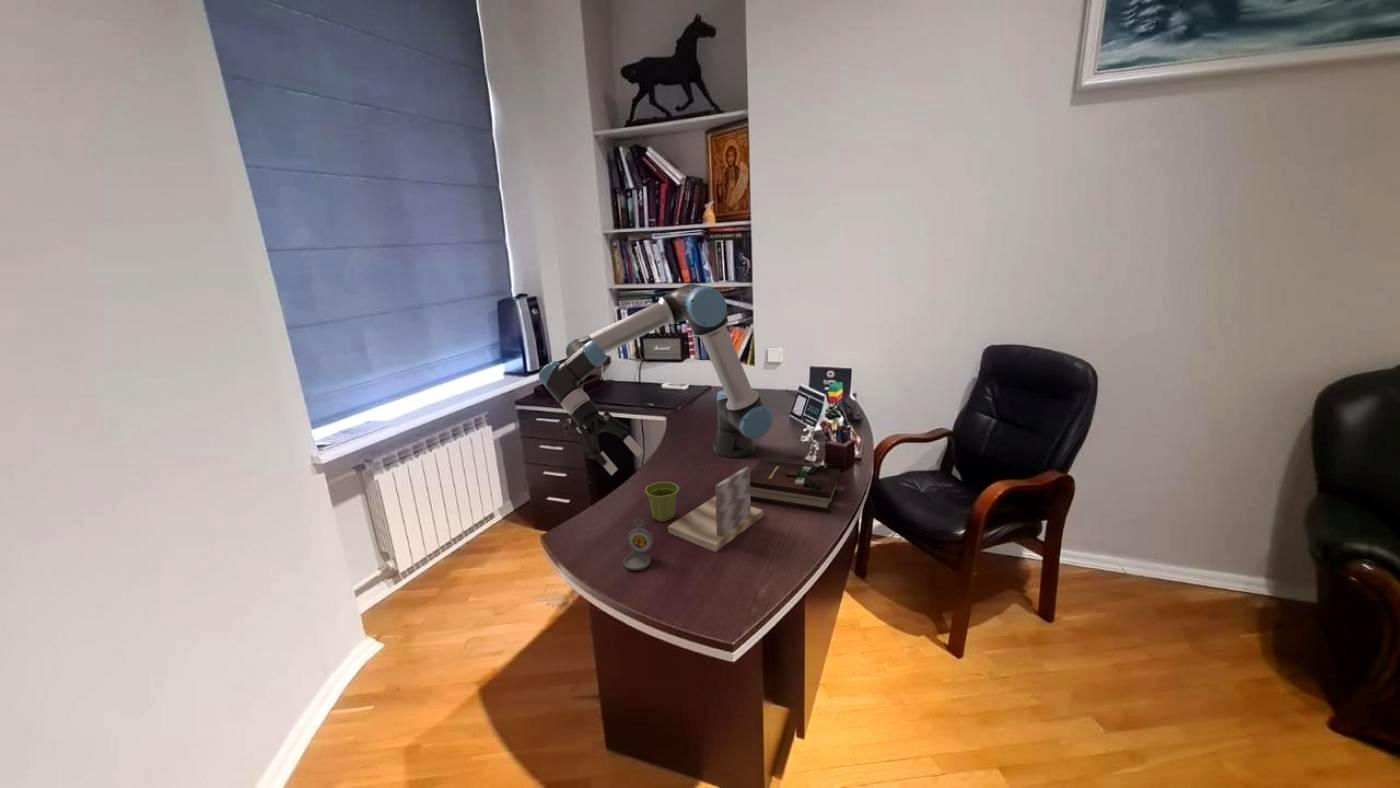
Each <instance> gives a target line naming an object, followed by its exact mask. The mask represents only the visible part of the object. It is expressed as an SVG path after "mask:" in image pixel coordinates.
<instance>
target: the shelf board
mask: <svg viewBox="0 0 1400 788" xmlns="http://www.w3.org/2000/svg"><path fill="white" fill-rule="evenodd" d="M750 472H751V467H750V466H744V467H743V468H742V469H740V470H738V471H737V472H735V473H733V474H731V475H729V476H728V477H727V478H725V479H724V480H722V481H720V482H718V483H717V484H715V485H714V486H715V487H714V488H715V492H714V493H715V496H713V497H712V498H710V499H708V500H707V501H705V502H704V503H702V504H700V505H699V506H698V507H696V508H694V509H692V510H691V511H689V512H687V514H685V515H683V516H681V517H680V518H678V519H677V520H675V521H673V522H672V523H671V524H669V525H668V526H667V533H668V532H669V533H668V534H670V533H671V534H670V535H672V534H673V535H672V536H675V537H677V536H678V537H677V538H680V539H683V540H685V541H688V542H690V543H692V544H695V545H698V546H700V547H702V548H705V549H707V550H709V551H712V552H715V553H716V552H717V551H719V550H720V549H721V548H723V547H724V546H726V545H727V544H729V543H730V542H731V541H732V540H734V539H735V538H736V537H738V536H739V535H740V534H741V533H743V532H744V531H745V530H747V529H748V528H750V525H751V526H752V525H753V524H755V523H756V522H757V521H758V519H759V520H760V519H761V518H763V517H764V515H763V514H764V512H763V510H764V509H761V508H758V507H754V506H752V505H751V502H752V501H751V498H750ZM762 516H763V517H762ZM754 522H755V523H754ZM746 528H747V529H746ZM737 535H738V536H737Z"/></svg>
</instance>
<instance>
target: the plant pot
mask: <svg viewBox="0 0 1400 788" xmlns="http://www.w3.org/2000/svg"><path fill="white" fill-rule="evenodd" d="M679 491H680V487H679V485H678V484H676V483H674V482H670V481H657V482H655V483H652V484H649V485H647V486H646V487H645V491H644V492H645V494H646V495H647V497H648V501H649V504H650V508H651V513H652V514H651V515H652V518H653V519H655V520H656V521H657V520H658V522H668V521H669V520H672V518H673V517H675V513H676V503H677V495H678V492H679ZM673 519H674V518H673ZM667 520H668V521H667Z"/></svg>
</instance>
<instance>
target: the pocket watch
mask: <svg viewBox="0 0 1400 788" xmlns="http://www.w3.org/2000/svg"><path fill="white" fill-rule="evenodd" d="M637 521H641V522H642V524H640V522H638V523H637V524H636V522H637ZM633 524H634V526H636V528H634V529H632V530H630V532H628V534H627V537H626V542H627V546H628V548H630V550H632V551H633V552H634V553H630V554H628V555H627V556H626V557H624V559H623V562H622V564H623V567H625V568H626V569H627V570H631V571H639V570H644V569H645V568H647V567H649V566H650V564H651V562H652V558H651V556H650V554H647V553H648V552H650V551H651V550H652V548H653V546H654V537H653V536H652V534H651V533H650V531H648V530H647V529H644V528H641V527H642V526H643V525H645V522H644V520H643V519H641V518H640V519H639V518H637V519H635V520H634V521H633Z"/></svg>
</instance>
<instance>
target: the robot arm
mask: <svg viewBox="0 0 1400 788" xmlns="http://www.w3.org/2000/svg"><path fill="white" fill-rule="evenodd" d="M727 306H728V305H727V301H726V298H725V297H724V295H723V294H722V293H721V292H720V291H719V290H718V289H716V288H714V287H711V286H710V285H699V284H696V283H689V284H685V285H683V286H680V287H679V288H677V289H674V290H672V291H671V292H669V293H666V294H664V295H663V296H661V297H659V299H658V302H655V303H654V304H651V305H648V306H647V307H644V308H642V309H640V310H639V311H637V312H634V313H632V314H630V315H628V316H627V317H624V318H621V319H620V320H618V321H615V322H613V323H611V324H609V325H607V326H605V327H603V328H601V329H599V330H597V331H594V332H592V333H590V334H589V335H586V336H584V337H581V338H574V339H572V340H570V341H569V342H568V343H567V345H566V346H565V354H566V358H567V359H566V360H564V361H563V362H559V361H557V360H554V361H551V362H550V363H548V364H546V365H545V366H543V368H542V369H540V370H539V374H538V379H539V381H540V382H541V383H542V384H543V386H545V389H546V390H547V391H548V392H549V393H550V395H552V397H553V398H554V399H555V400H556V401H557V402H558V404H560V405H561V407H562V408H563V409H564V410H565V411H566V412H567V414H568V415H570V416H571V419H572V420H573V421H574V423H576V424H577V427H576V428H575V430H574V431H575V432H576V434H577V436H578V437H579V441H580V443H581V445H582V446H581V447H582V448H583V451H584V454H585V456H586V458H587V459H590V460H594V459H595V461H597V463H599V464H600V466H601V467H603V468H604V469H605V470H606V472H608V474H609V475H610V476H613V475H614V474H615V473H616V472H617V471H618V470H619V468H617V466H616V464H614V462H613V461H612V460H611V459H610V458H609V456H607V454H606V453H605V452H604V451H603V450H602V451H601V450H600V449H601V448H600V442H599V434H600V433H601V434H602V433H609V434H611V435H613V436H616V437H619V438H621V439H623V442H624V444H625V445H626V447H628V449H629V450H630V451H631V452H632V453H633V454H634V455H635V456H636V458H638V457H640V456H641V455H642V454H643V453H644V450H643V449H642V447H641V446H640V445H639V444H638V442H637V440H636V439H635V438H634V437H633V436H632V435H631V434H632V433H633V432H632V431H633V428H631V427H630V426H628V425H627V424H625V423H624V422H622V421H620V420H619V419H617V418H616V417H614V416H613V415H611V413H610V412H609V411H607V410H605V412H604V413H603V414H601V413H600V412H599V407H598V406H597V405H596V403H595V402H593V401H592V400H590V396H589V395H588V394H587V393H586V392H585V391H584V390H583V389H582V387H580V385H579V384H580V383H582V381H584V380H585V379H586V378H587V377H588V376H590V375H591V374H592V373H593V372H594V371H596V370H597V369H598V368H600V367H601V366H602V365H603V364H604V363H605V362H606V361H607V359H608V357H607V353H609V352H611V351H613V350H615V349H618V348H620V347H622V346H624V345H626V344H628V343H630V342H633V341H634V340H637V339H639V338H640V337H643V336H645V335H646V334H649V333H651V332H653V331H655V330H657V329H659V328H661V327H663V326H666V325H667V324H670V325H675V324H677V323H679V322H682V321H688V324H689V325H690V328H691V330H692V333H693V335H694V336H695V337H698V338H699V339H701V341H702V343H703V346H704V349H705V350H706V352H707V354H708V358H709V359H710V362H711V364H712V366H713V369H714V371H715V373H716V375H717V377H718V380H719V382H720V384H721V387H722V390H719V391H718V392H717V396H716V404H717V405H716V406H717V407H716V408H717V409H716V410H717V411H716V412H717V433H716V436H715V440H714V442H713V452H714V453H715V454H716V455H719V456H721V457H725V458H742V457H743V458H744V457H747V456H750V455H752V454H753V453H754V452H755V451H756V443H755V441H754V440H755V439H756V440H757V439H759V438H762V437H763V436H765V435H766V434H767V433H768V432H769V431H770V429H771V426H773V419H774V418H773V414H772V412H771V410H769V408H768V407H767V406H765V405H764V404H763V401H762V398H761V396H760V394H759V392H758V391H757V390H754V389H752V386H751V384H750V382H749V379H748V377H747V375H746V372H745V370H744V367H743V365H742V364H743V363H742V362H741V360H740V358H739V354H738V352H737V351H736V348H735V346H734V343H733V341H732V338H731V336H730V333H729V331H728V329H727V325H728V323H729V319H728V316H727V309H728V307H727Z"/></svg>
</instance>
